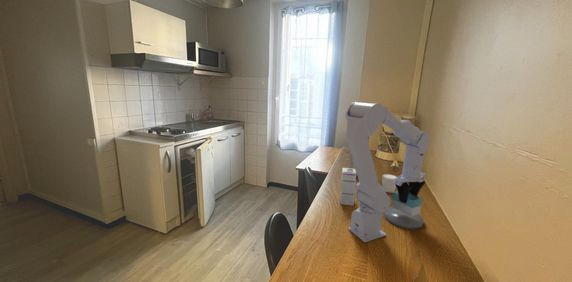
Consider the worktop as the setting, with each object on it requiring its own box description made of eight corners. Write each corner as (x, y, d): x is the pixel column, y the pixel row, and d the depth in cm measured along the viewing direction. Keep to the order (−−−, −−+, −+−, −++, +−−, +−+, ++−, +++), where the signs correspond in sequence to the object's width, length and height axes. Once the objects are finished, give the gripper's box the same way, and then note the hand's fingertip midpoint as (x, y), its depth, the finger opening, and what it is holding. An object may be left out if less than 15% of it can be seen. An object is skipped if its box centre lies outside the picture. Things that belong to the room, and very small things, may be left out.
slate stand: (406, 232, 77) (406, 228, 76) (376, 214, 88) (377, 210, 88) (431, 224, 82) (431, 220, 82) (400, 207, 93) (400, 204, 93)
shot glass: (387, 193, 106) (388, 179, 105) (377, 187, 112) (379, 174, 111) (399, 192, 108) (401, 178, 106) (389, 186, 114) (390, 173, 113)
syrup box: (354, 205, 94) (357, 173, 91) (339, 204, 95) (342, 171, 92) (353, 199, 100) (356, 168, 96) (339, 198, 101) (341, 167, 97)
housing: (391, 206, 85) (392, 192, 84) (399, 203, 88) (401, 189, 86) (411, 216, 78) (413, 200, 77) (420, 212, 81) (422, 197, 80)
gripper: (410, 171, 72) (405, 209, 75) (436, 164, 79) (430, 200, 82) (391, 164, 78) (386, 200, 81) (416, 159, 85) (411, 192, 88)
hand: (407, 200), depth 82 cm, fingers closed on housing, 5 cm apart
